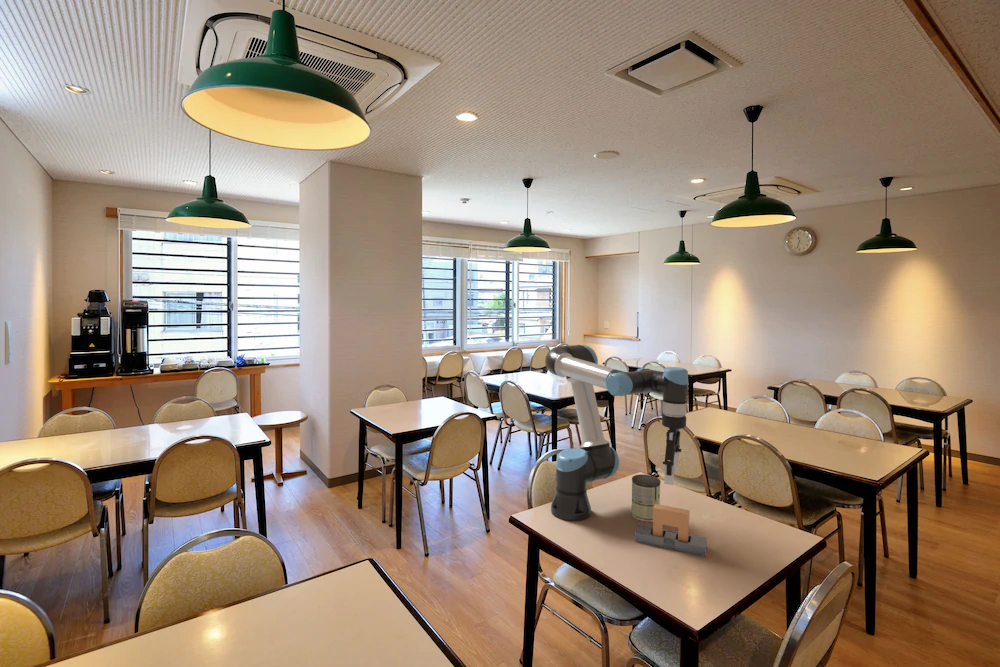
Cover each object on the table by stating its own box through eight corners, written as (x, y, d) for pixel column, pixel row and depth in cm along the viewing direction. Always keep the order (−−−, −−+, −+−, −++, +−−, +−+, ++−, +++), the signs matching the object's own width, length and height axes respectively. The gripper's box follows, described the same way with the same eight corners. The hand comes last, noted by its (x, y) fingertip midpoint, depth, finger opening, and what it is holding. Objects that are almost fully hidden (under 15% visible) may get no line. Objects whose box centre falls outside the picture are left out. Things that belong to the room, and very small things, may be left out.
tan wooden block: (652, 542, 160) (653, 507, 159) (653, 537, 163) (655, 503, 162) (687, 550, 155) (688, 514, 154) (688, 545, 158) (689, 510, 158)
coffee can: (628, 509, 186) (629, 473, 185) (655, 510, 185) (657, 474, 184) (633, 521, 176) (634, 483, 175) (662, 522, 174) (663, 485, 174)
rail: (634, 541, 161) (634, 532, 161) (638, 532, 167) (638, 523, 167) (705, 556, 151) (705, 547, 151) (706, 546, 158) (706, 538, 157)
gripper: (682, 424, 144) (679, 492, 146) (689, 408, 166) (686, 467, 168) (656, 421, 147) (653, 488, 149) (667, 405, 170) (664, 463, 171)
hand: (671, 477), depth 159 cm, fingers open, 13 cm apart
